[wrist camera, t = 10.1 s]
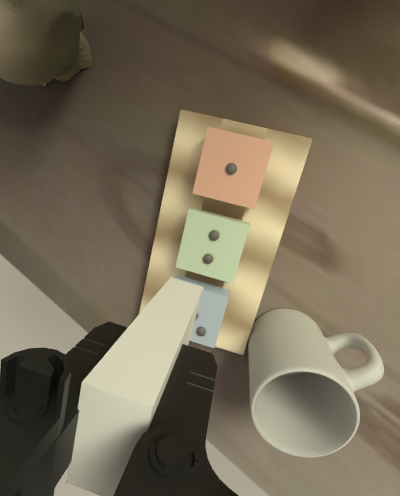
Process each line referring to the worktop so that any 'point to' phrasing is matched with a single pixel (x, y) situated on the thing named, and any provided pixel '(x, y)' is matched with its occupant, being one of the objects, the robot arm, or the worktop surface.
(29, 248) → the worktop surface
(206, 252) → the sage tile
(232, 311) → the board
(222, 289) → the blue tile
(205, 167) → the terracotta tile
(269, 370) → the mug
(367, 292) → the worktop surface
